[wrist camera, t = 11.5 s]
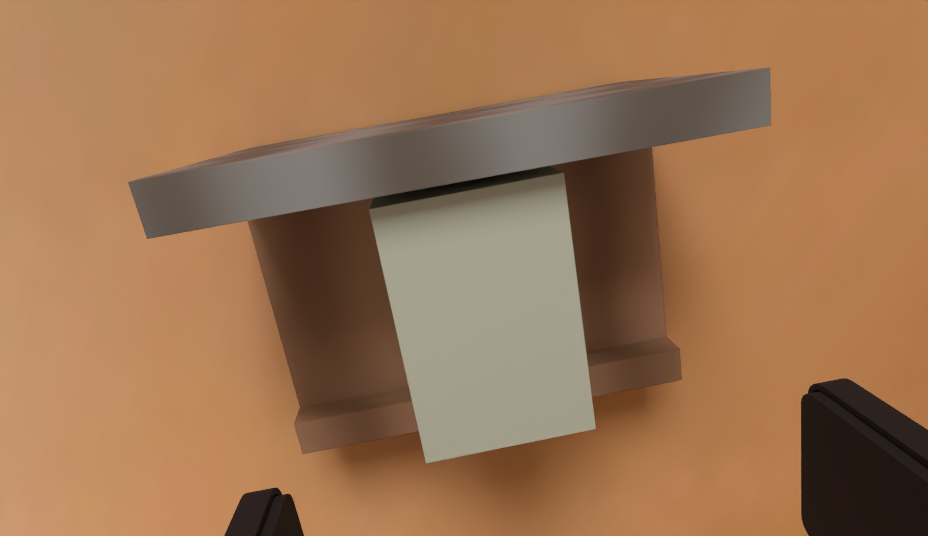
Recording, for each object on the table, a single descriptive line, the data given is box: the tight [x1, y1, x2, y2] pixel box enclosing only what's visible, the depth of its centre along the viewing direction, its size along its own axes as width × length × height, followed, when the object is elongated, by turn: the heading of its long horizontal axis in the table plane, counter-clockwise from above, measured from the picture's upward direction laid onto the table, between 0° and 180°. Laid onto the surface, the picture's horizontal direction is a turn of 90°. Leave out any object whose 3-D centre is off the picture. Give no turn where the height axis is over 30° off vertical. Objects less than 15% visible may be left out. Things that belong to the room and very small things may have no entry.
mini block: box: [369, 166, 596, 463], centre depth 23 cm, size 6×9×8 cm, turn 10°
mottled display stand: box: [128, 68, 771, 454], centre depth 24 cm, size 18×14×12 cm
